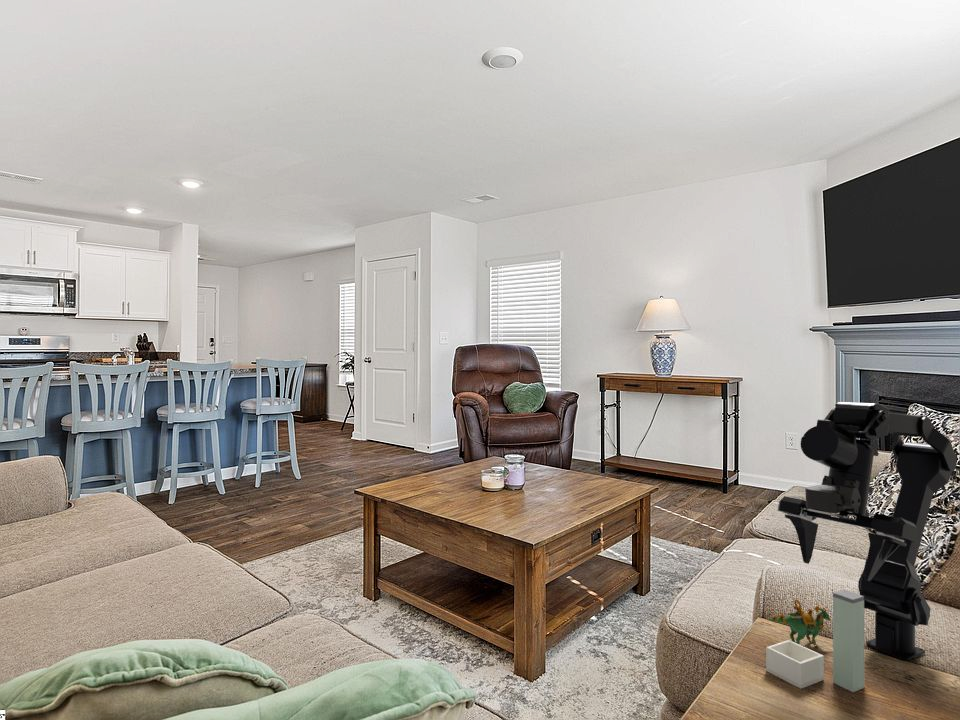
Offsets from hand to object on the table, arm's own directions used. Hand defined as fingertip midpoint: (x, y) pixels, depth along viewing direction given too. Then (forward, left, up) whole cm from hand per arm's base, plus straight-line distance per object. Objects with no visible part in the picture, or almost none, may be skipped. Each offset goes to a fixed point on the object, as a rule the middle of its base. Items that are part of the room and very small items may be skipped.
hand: (835, 571), depth 89 cm
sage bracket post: (0, +2, -17) cm, 17 cm away
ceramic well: (+5, -4, -17) cm, 18 cm away
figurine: (-6, -10, -17) cm, 21 cm away
